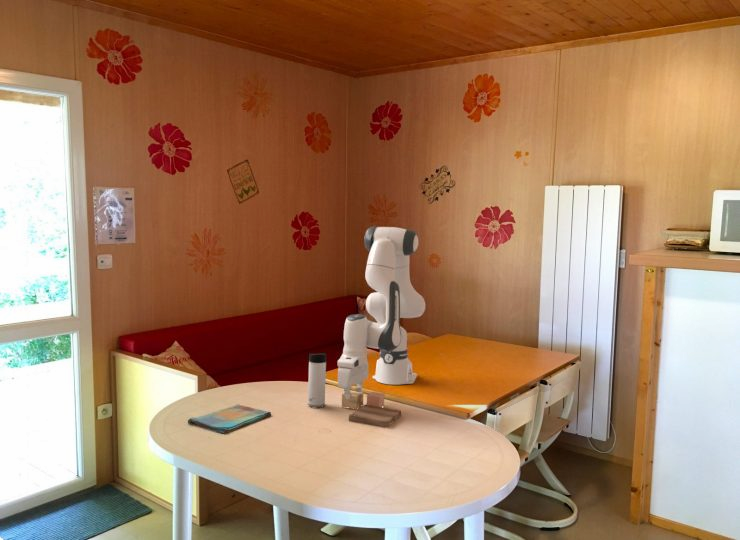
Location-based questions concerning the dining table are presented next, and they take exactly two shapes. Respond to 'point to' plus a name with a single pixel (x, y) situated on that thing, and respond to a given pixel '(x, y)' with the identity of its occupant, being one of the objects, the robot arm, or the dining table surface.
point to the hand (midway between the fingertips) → (353, 395)
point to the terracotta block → (375, 399)
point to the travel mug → (317, 380)
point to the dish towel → (229, 418)
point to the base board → (375, 415)
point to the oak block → (353, 400)
